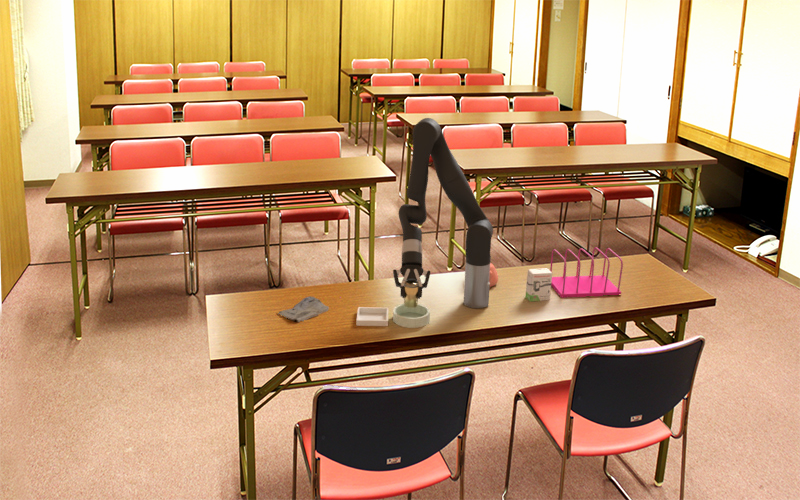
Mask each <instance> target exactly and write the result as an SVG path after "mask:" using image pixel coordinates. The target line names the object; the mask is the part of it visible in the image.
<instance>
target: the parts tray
mask: <svg viewBox="0 0 800 500" xmlns="http://www.w3.org/2000/svg"><path fill="white" fill-rule="evenodd" d="M355 323H356V326H359V327H360V326H361V327H367V326H368V327H388V326H389V307H380V306H379V307H378V306H377V307H375V306H374V307H371V306H370V307H368V306H365V307H364V306H358V307H357V311H356V322H355Z"/></svg>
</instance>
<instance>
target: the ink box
mask: <svg viewBox="0 0 800 500" xmlns="http://www.w3.org/2000/svg"><path fill="white" fill-rule="evenodd" d="M526 273H527V276H526V285H525V286H526V287H525V295H524V296H525V299H527V301H529V302H538V301H539V302H543V301H550V298H551V289H552V286H551V282H552V277H553V271H552V272H551V271H550V269H549V268H546V267H544V268H543V267H541V268H529V269H527V272H526Z"/></svg>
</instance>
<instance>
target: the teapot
mask: <svg viewBox="0 0 800 500" xmlns="http://www.w3.org/2000/svg"><path fill="white" fill-rule="evenodd" d="M489 283H490V288H491V287H494V286H495V285H497V283H499V275H498V271H497V268H496V267H495V266H494V264H493V263H491V262H490V275H489Z"/></svg>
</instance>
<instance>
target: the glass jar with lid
mask: <svg viewBox="0 0 800 500" xmlns="http://www.w3.org/2000/svg"><path fill="white" fill-rule="evenodd" d="M404 285H405V286H404V287H405V295H404V298H403V304H404V306H406V307H409V308H413V307H417V306H418V304H419V299H418V287H419V282H417V281H414V280H408V281H405V284H404Z"/></svg>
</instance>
